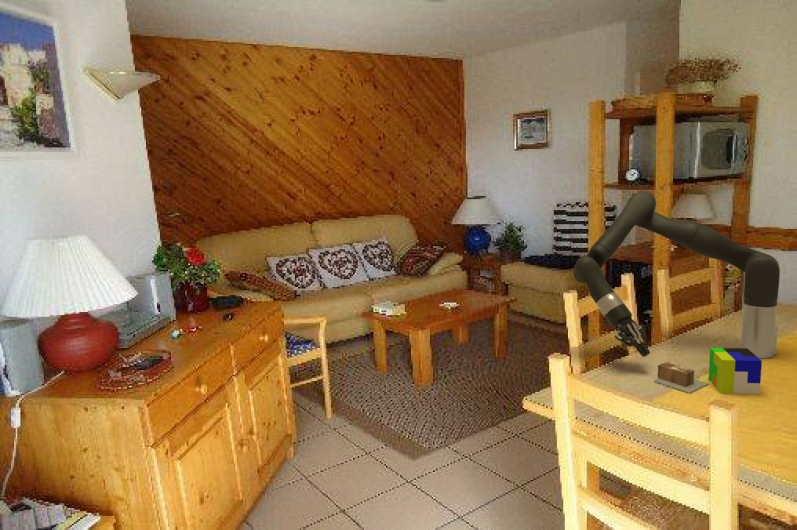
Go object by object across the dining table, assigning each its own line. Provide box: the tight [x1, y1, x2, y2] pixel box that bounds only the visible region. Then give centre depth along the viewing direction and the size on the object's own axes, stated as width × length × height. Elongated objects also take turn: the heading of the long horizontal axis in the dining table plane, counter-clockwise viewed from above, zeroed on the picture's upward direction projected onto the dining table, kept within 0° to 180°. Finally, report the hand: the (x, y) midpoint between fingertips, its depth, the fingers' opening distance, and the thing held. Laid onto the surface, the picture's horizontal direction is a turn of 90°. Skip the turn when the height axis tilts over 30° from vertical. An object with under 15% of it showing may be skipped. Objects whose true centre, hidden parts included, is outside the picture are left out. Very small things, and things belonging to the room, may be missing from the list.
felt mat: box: [653, 378, 710, 394], centre depth 166 cm, size 10×11×1 cm
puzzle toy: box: [708, 347, 763, 395], centre depth 161 cm, size 10×10×10 cm
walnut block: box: [657, 361, 695, 387], centre depth 167 cm, size 4×4×9 cm
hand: (646, 355), depth 174 cm, fingers closed
